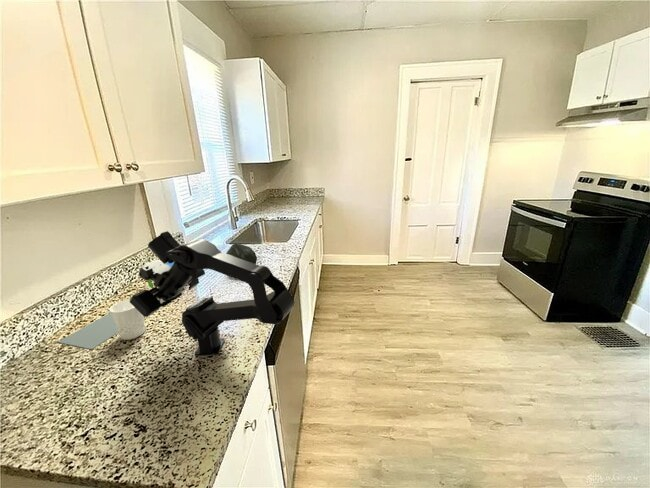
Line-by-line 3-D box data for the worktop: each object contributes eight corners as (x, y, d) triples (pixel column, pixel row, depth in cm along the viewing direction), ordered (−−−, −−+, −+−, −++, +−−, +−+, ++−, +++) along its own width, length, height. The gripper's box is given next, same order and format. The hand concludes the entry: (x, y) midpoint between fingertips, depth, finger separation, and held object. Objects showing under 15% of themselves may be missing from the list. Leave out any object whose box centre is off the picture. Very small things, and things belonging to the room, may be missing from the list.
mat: (145, 317, 97) (145, 315, 97) (92, 351, 80) (91, 349, 80) (115, 312, 101) (114, 310, 100) (58, 344, 84) (57, 341, 84)
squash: (259, 252, 140) (236, 233, 133) (265, 263, 127) (239, 243, 120) (240, 272, 140) (215, 255, 132) (243, 286, 127) (216, 267, 119)
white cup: (153, 325, 91) (146, 298, 88) (138, 340, 84) (130, 311, 80) (128, 326, 91) (120, 299, 88) (111, 342, 83) (102, 312, 80)
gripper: (183, 242, 83) (161, 273, 89) (125, 266, 66) (103, 302, 72) (210, 269, 83) (186, 298, 89) (159, 300, 66) (134, 332, 72)
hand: (155, 306), depth 81 cm, fingers closed
